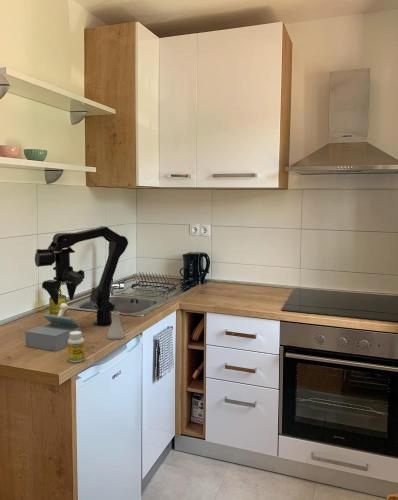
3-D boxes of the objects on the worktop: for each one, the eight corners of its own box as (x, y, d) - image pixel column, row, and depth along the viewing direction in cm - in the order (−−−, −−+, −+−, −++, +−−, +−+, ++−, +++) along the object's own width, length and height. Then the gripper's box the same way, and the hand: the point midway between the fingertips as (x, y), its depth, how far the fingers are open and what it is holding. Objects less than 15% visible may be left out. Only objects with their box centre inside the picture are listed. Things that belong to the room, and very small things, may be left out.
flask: (126, 334, 182) (126, 310, 181) (124, 340, 175) (123, 315, 174) (108, 334, 182) (108, 310, 181) (105, 340, 175) (104, 315, 174)
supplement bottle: (81, 356, 158) (80, 329, 157) (87, 360, 154) (86, 333, 153) (66, 359, 155) (65, 332, 154) (71, 364, 151) (70, 336, 150)
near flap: (51, 323, 180) (58, 307, 184) (79, 326, 175) (86, 311, 178) (41, 315, 175) (49, 300, 178) (71, 319, 170) (78, 303, 173)
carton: (51, 335, 181) (51, 321, 180) (80, 339, 176) (80, 325, 175) (25, 346, 168) (25, 331, 167) (56, 351, 163) (55, 336, 162)
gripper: (63, 269, 172) (65, 309, 174) (93, 262, 189) (94, 299, 191) (40, 267, 176) (42, 306, 178) (71, 260, 193) (72, 296, 195)
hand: (64, 302), depth 185 cm, fingers open, 9 cm apart
